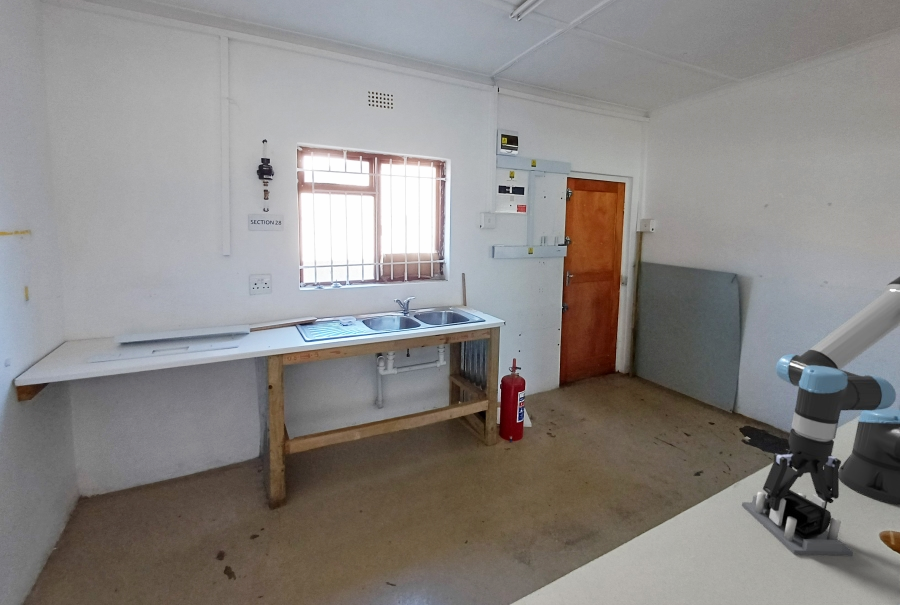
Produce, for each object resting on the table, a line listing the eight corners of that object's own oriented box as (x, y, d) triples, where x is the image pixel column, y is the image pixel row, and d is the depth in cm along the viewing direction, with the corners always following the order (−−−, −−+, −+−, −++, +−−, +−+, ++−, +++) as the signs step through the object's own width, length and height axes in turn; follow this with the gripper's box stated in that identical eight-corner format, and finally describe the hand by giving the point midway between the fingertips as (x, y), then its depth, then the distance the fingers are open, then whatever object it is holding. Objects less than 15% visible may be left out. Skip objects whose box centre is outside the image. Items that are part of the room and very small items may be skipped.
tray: (791, 507, 105) (796, 486, 104) (852, 555, 89) (858, 531, 88) (741, 505, 105) (745, 484, 104) (793, 554, 89) (798, 529, 88)
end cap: (828, 534, 94) (834, 508, 92) (808, 541, 91) (813, 514, 90) (781, 506, 103) (785, 482, 102) (761, 512, 100) (766, 487, 99)
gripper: (842, 427, 97) (824, 512, 101) (753, 424, 97) (738, 510, 100) (875, 443, 89) (854, 534, 93) (779, 440, 89) (761, 532, 93)
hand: (794, 522), depth 97 cm, fingers closed on end cap, 9 cm apart
